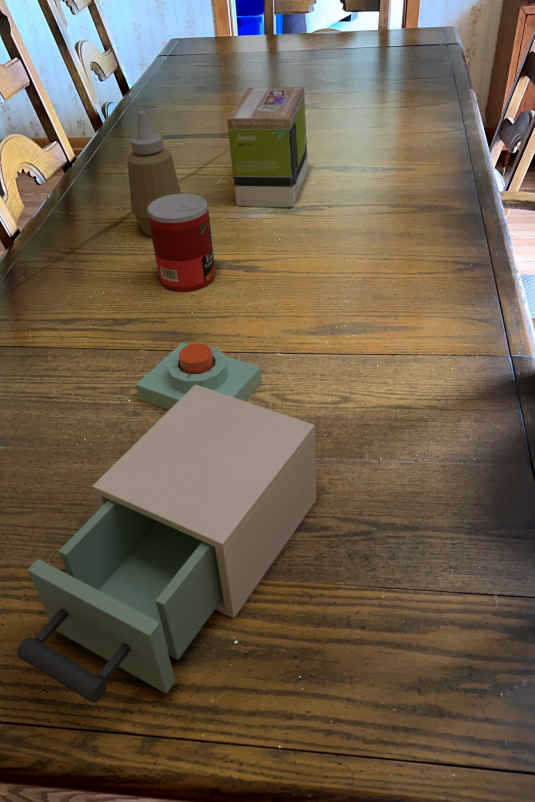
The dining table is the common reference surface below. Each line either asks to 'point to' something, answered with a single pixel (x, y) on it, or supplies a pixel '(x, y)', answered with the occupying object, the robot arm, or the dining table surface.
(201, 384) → the panel
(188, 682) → the dining table surface
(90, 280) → the dining table surface
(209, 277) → the canned food
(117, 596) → the drawer
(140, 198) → the squeeze bottle
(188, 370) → the button
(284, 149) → the tea box
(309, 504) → the grey box-shaped casing
